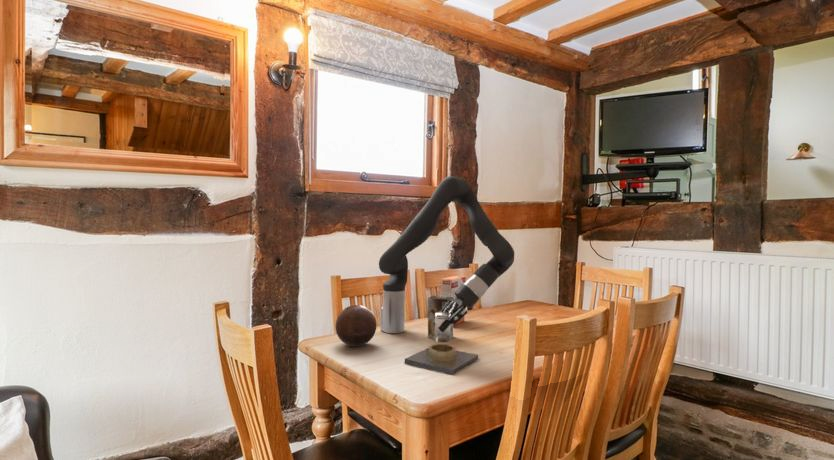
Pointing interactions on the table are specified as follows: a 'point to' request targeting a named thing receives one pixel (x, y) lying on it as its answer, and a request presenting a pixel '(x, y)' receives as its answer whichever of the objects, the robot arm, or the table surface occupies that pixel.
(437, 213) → the robot arm
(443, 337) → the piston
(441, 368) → the square base with socket
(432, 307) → the coffee box
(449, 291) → the cracker box
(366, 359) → the table surface
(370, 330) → the wooden sphere
